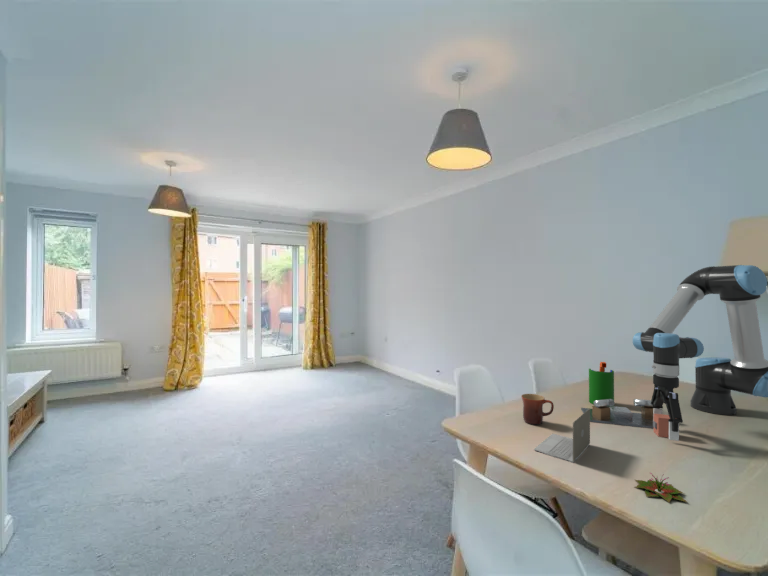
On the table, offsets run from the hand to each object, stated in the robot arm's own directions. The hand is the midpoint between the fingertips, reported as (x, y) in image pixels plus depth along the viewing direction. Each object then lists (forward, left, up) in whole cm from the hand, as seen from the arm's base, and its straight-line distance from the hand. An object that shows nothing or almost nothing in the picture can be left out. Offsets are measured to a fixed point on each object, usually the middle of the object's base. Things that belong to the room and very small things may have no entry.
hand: (665, 432), depth 131 cm
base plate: (+10, -14, -1) cm, 17 cm away
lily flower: (+17, +44, -2) cm, 47 cm away
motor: (+13, -33, -1) cm, 36 cm away
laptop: (+38, +23, -2) cm, 44 cm away
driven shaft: (+17, -11, 0) cm, 20 cm away
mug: (+44, +2, -1) cm, 44 cm away
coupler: (0, 0, -1) cm, 1 cm away
